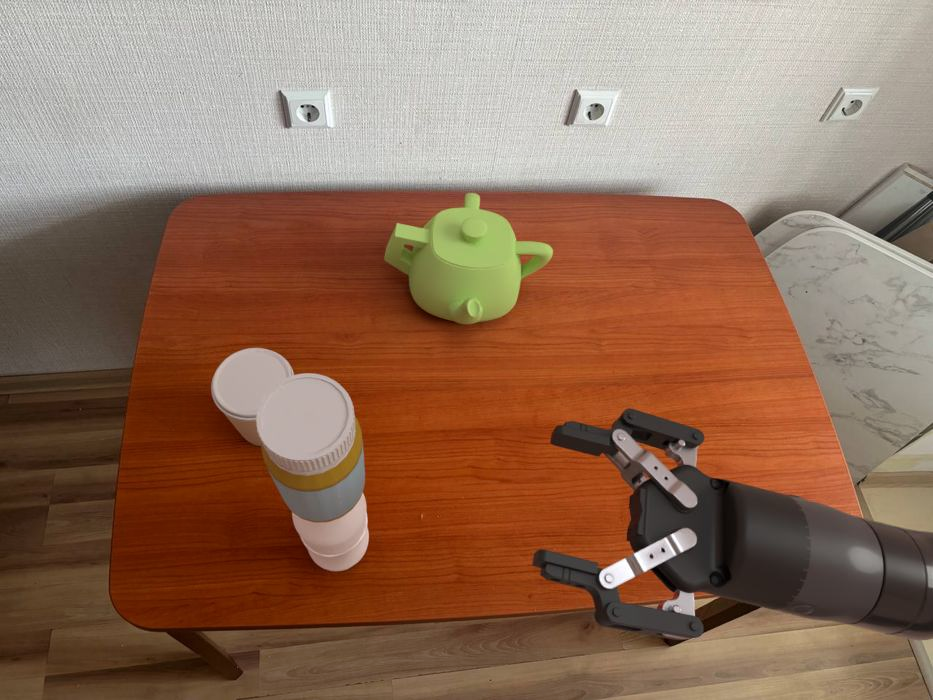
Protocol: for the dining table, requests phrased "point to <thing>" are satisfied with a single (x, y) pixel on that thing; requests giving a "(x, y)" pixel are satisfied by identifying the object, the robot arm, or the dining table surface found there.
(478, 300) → the teapot
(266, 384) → the coffee cup
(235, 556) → the dining table surface
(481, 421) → the dining table surface
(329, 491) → the bottle
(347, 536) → the water bottle
